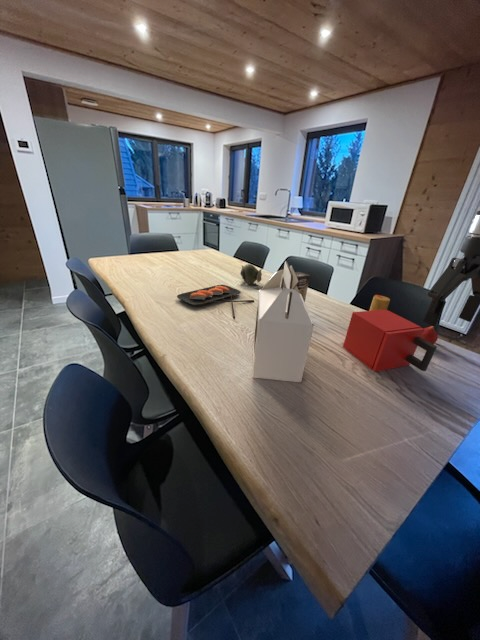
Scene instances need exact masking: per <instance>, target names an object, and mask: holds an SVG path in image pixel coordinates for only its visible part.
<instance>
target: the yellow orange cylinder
mask: <svg viewBox="0 0 480 640" xmlns="http://www.w3.org/2000/svg"><path fill="white" fill-rule="evenodd" d="M390 302H391V299H390V298H389V297H387V296H385V295H379V294H375V295H373V298H372V301H371V304H370V307H369V310H368V311H372V310H383V309H386V310H388V308H389V305H390Z"/></svg>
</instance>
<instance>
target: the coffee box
mask: <svg viewBox="0 0 480 640" xmlns="http://www.w3.org/2000/svg"><path fill="white" fill-rule="evenodd" d="M295 274H296V276H297V278H298V280H299V283H298V284H297V287H298V290H299V292H300V294H301V295H302V297H303V300H304V302H305V303H306V299H307V292H308V287H309V283H310V278H311V275H310V274H308V273H304V272H301V271H296V272H295Z"/></svg>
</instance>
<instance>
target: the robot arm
mask: <svg viewBox="0 0 480 640" xmlns="http://www.w3.org/2000/svg"><path fill="white" fill-rule="evenodd" d="M467 232H468V234H469V235H467V236H465V237H464V240H463V242H462V244H461V247H460V249H459V250H460V253H463V254H464V255H463V256H462V258H459V257H455V256H454V257H452V258H451V260H450V262H449V264H448V265H447V267H446V268H445V270H444V271H443V272H442V274H441V275H440V276H439V277H438V278H437V280H436V282H435V283H434V284H433V286H432V287H431V288H430V290H429V291H427V294H426V295H427V296H428V297H429V298H432V299H431V302H430V304H429V306H428V309H427V311H426V314H425V316H424V318H423V320H422V322H423V323H425V324H427V325H430V327H431V326H433V327H436V326H437V323H438V321H439V319H440V317H441V315H442V312H443V310H444V307H445V305H446V303H447V301H446V299H447V298H448V297H449V296H450V295H451V294H452V293H453V292H454V291H455V290H456V289H458V287H459V286H460V285H462V284H463V282H467V281H468V280H469V279H470V280H471V292H472V294H469V295H468V297H467V299H466V301H465V303H464V305H463V307H462V309H461V312H460V313H459V315H458V318H459V319H461V320H464V321H465V322H468V323H471V322H472V321H473V318H474V316H475V315H476V313H477V311H478V310H479V309H478V308H479V307H480V205H478V208H477V211H476V213H475V215H474V218H473V219H472V220H471V225H470V226H469V229H468V231H467Z"/></svg>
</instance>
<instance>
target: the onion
mask: <svg viewBox="0 0 480 640" xmlns="http://www.w3.org/2000/svg"><path fill="white" fill-rule="evenodd" d="M434 327H435V326H431V325H430V326H428V327H424V328H423V329H424V332H423V334H422V336H421V338H422V339H424V340H426V341H428V342H430V343H432V344H433V345H435V343H437V341H438V338H439V335H438V332H437V331H436V329H434Z"/></svg>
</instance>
